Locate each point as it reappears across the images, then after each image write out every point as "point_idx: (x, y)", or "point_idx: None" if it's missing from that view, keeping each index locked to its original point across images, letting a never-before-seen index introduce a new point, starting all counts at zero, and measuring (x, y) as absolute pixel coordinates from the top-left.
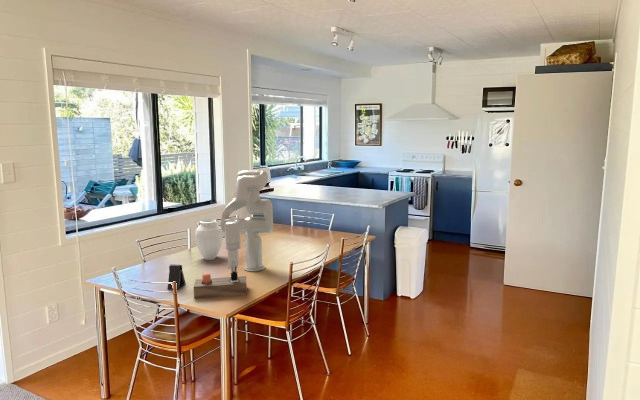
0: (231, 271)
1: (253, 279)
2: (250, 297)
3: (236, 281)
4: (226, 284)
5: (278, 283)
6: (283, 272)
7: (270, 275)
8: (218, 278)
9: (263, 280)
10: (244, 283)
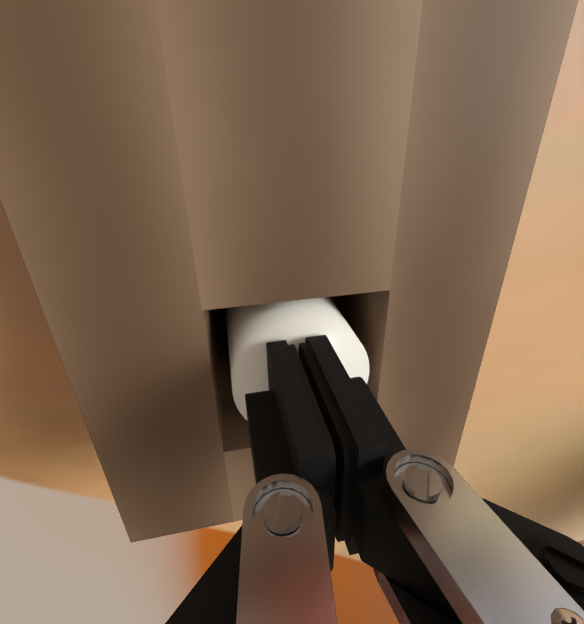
0: (241, 571)
1: (552, 404)
2: (78, 457)
3: (245, 411)
4: (56, 266)
5: None
6: (580, 537)
7: (571, 489)
8: (526, 21)
9: (493, 470)
10: (135, 522)
